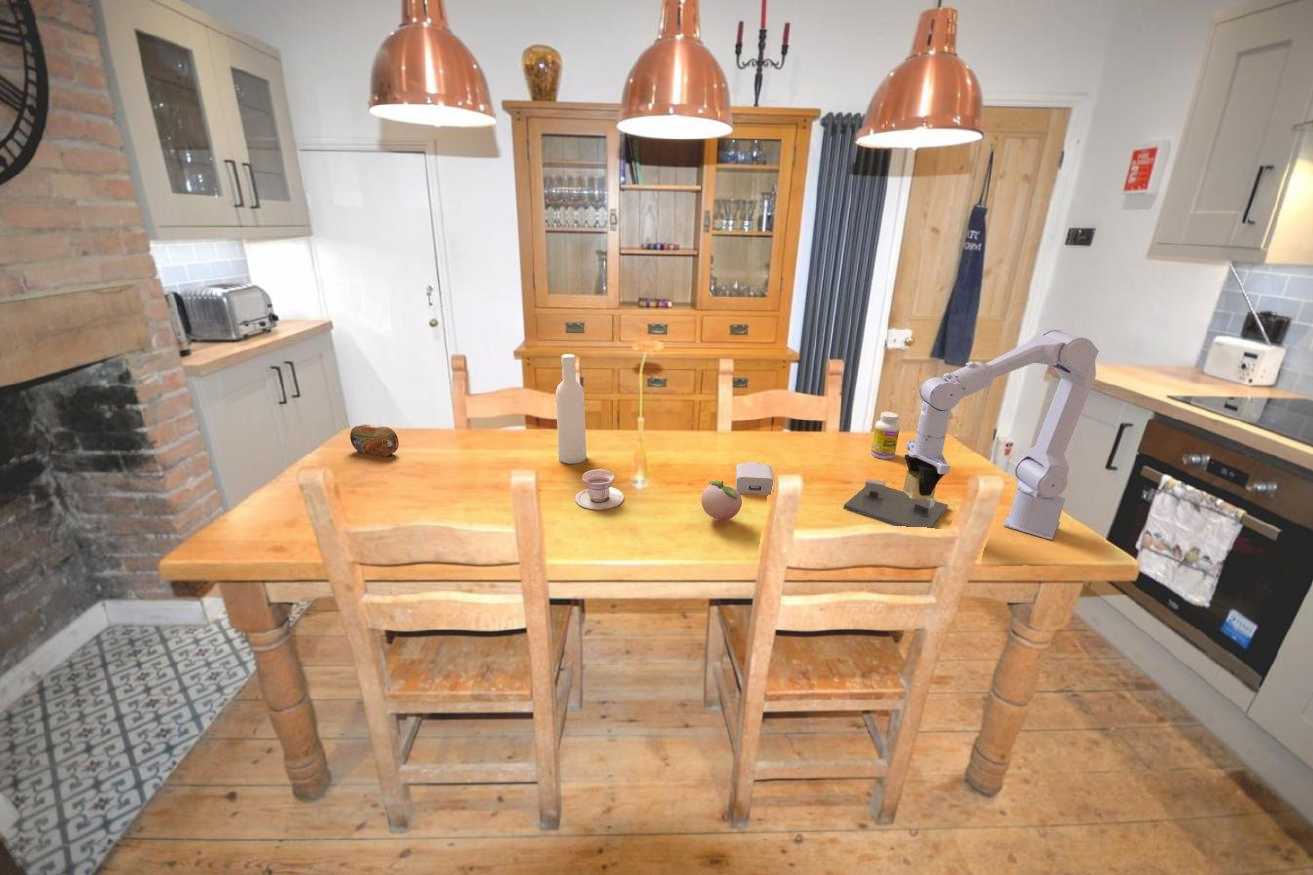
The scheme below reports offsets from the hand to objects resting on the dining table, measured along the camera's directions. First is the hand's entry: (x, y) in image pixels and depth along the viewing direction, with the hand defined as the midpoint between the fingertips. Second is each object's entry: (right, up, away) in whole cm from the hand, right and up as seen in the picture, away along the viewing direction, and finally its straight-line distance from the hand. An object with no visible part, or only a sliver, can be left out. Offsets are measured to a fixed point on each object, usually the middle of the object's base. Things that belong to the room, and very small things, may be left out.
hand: (919, 490), depth 127 cm
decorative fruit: (-45, -8, +3) cm, 46 cm away
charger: (-34, 0, +23) cm, 41 cm away
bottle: (-83, +6, +35) cm, 91 cm away
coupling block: (0, -1, 0) cm, 1 cm away
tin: (-140, +7, +37) cm, 145 cm away
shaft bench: (-1, -5, +10) cm, 11 cm away
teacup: (-73, -4, +12) cm, 74 cm away
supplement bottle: (+8, +6, +41) cm, 42 cm away
